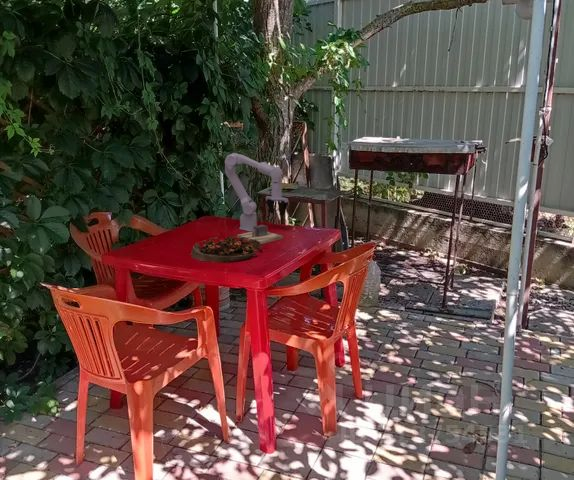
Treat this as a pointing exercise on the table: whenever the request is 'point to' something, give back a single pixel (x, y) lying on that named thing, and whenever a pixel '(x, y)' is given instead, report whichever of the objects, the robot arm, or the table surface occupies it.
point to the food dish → (226, 250)
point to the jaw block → (260, 230)
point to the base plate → (262, 239)
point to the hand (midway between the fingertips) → (277, 213)
